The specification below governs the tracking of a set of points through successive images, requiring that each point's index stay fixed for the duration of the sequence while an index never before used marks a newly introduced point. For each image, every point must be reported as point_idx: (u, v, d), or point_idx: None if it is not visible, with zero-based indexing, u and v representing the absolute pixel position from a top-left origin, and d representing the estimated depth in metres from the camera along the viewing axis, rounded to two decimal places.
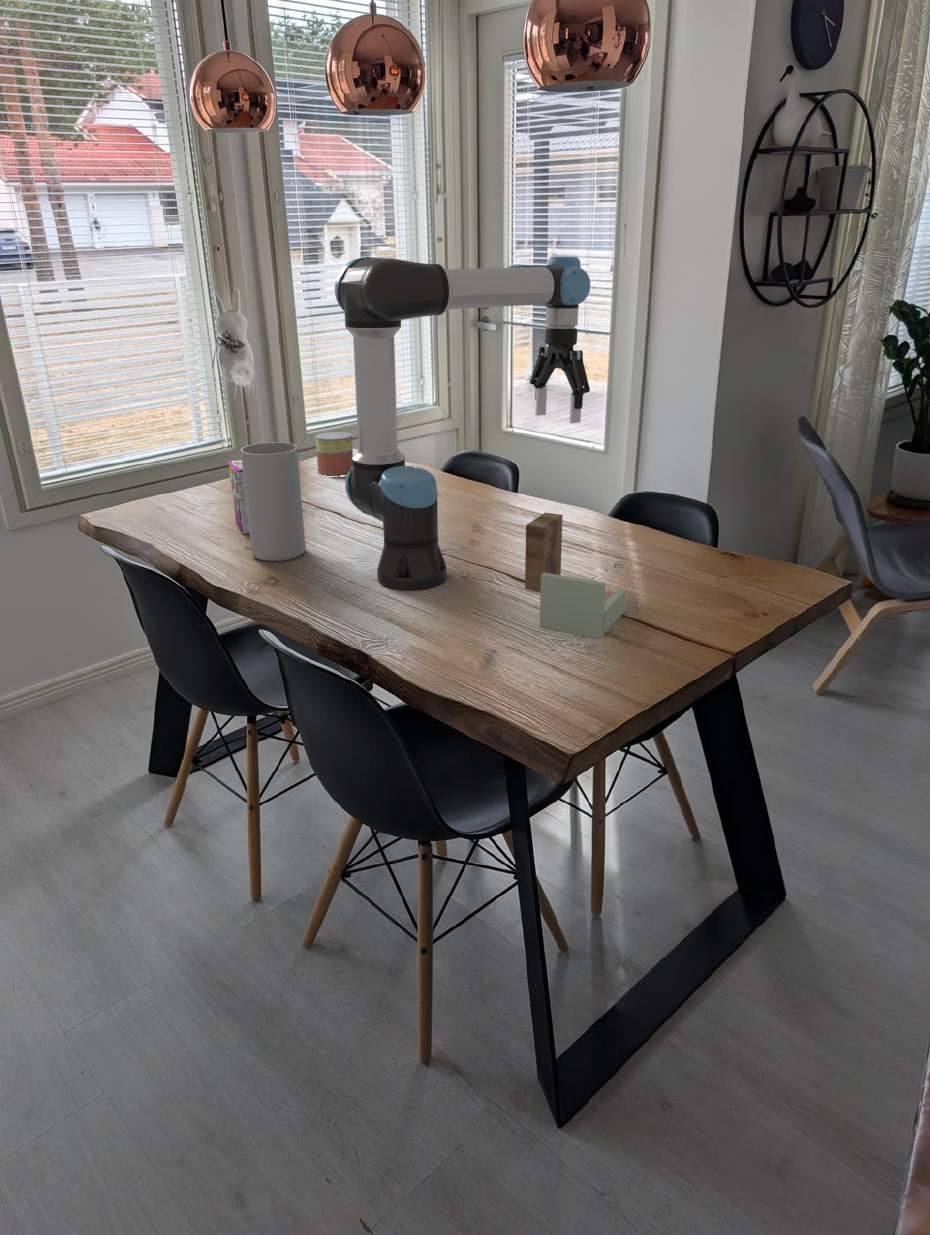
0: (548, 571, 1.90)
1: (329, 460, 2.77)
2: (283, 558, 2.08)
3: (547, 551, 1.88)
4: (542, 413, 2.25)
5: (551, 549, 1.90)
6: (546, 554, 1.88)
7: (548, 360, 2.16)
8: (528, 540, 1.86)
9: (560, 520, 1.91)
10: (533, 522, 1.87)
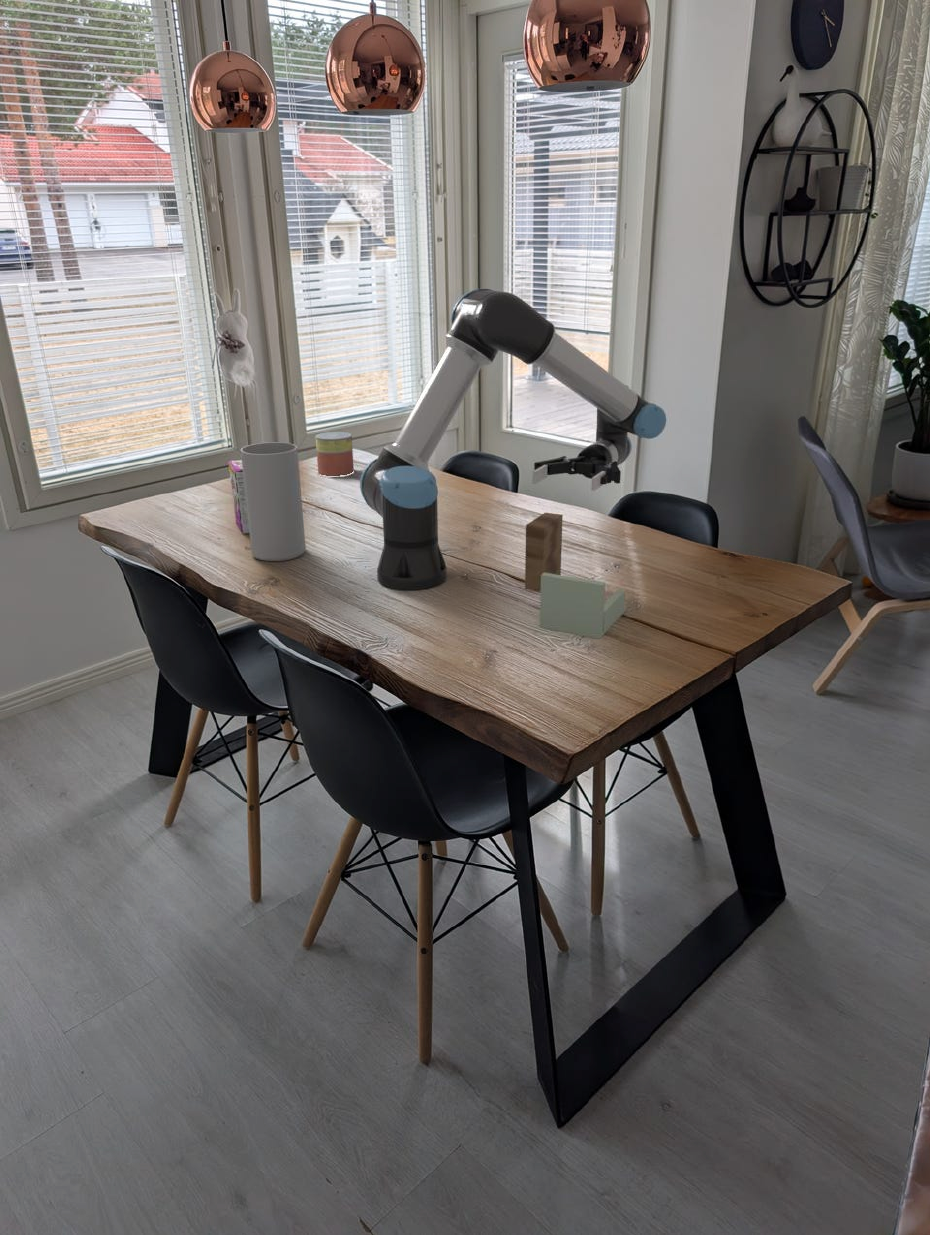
0: (548, 571, 1.90)
1: (329, 460, 2.77)
2: (283, 558, 2.08)
3: (547, 551, 1.88)
4: (536, 478, 1.98)
5: (551, 549, 1.90)
6: (546, 554, 1.88)
7: (576, 458, 2.06)
8: (528, 540, 1.86)
9: (560, 520, 1.91)
10: (533, 522, 1.87)
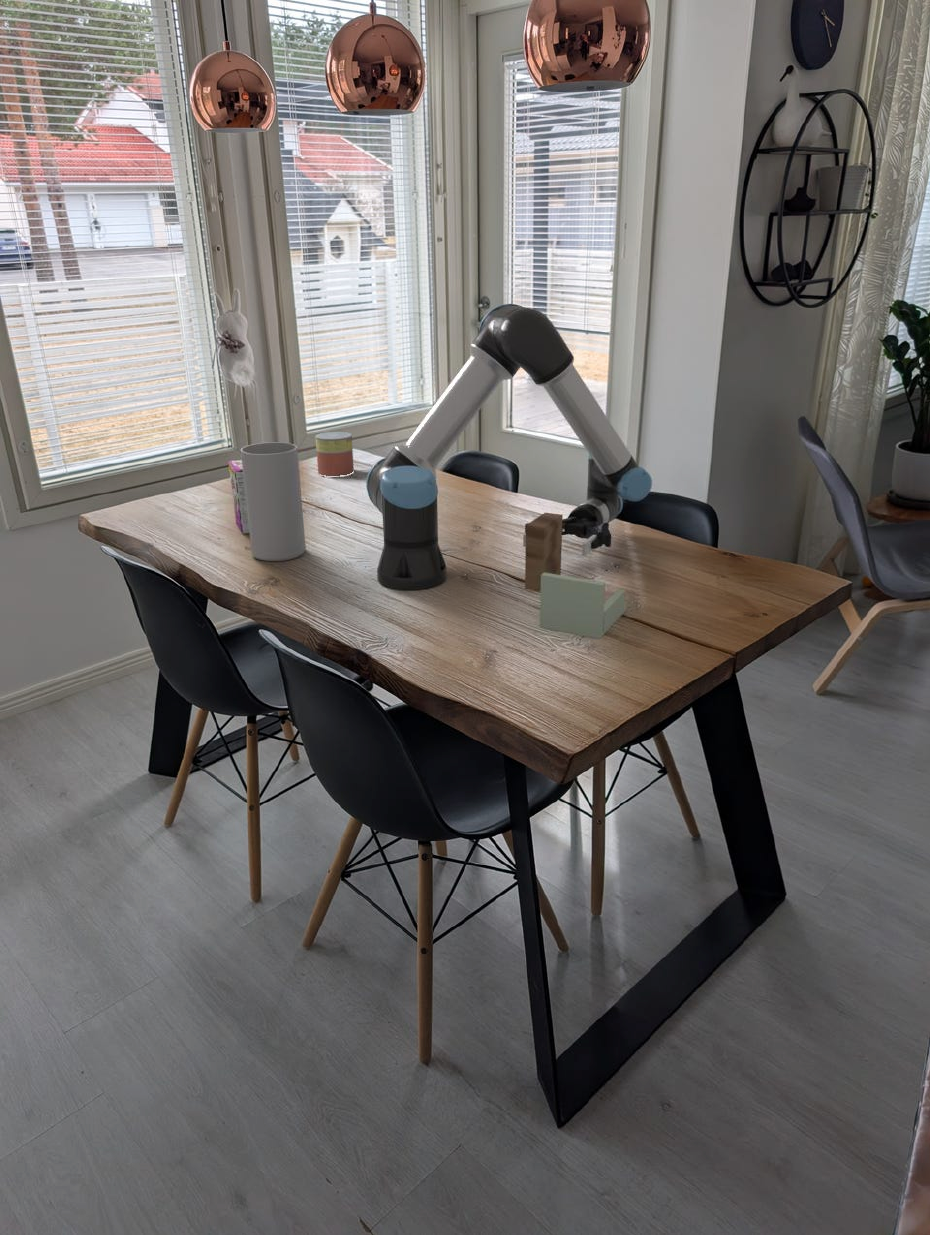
0: (548, 571, 1.90)
1: (329, 460, 2.77)
2: (283, 558, 2.08)
3: (547, 551, 1.88)
4: None
5: (551, 549, 1.90)
6: (546, 554, 1.88)
7: (567, 519, 2.06)
8: (528, 540, 1.86)
9: (560, 520, 1.91)
10: (533, 522, 1.87)
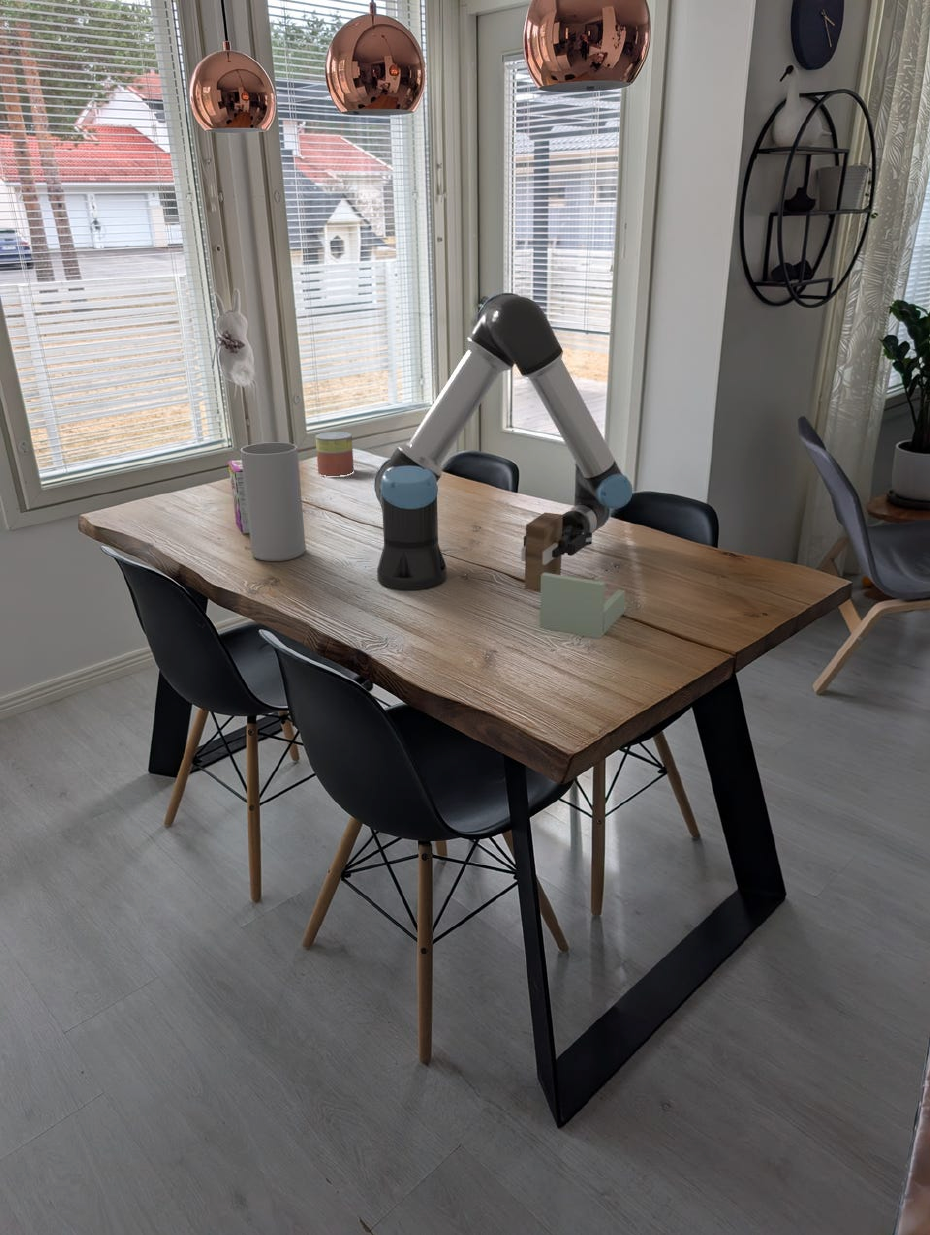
0: (548, 571, 1.90)
1: (329, 460, 2.77)
2: (283, 558, 2.08)
3: None
4: (525, 556, 1.88)
5: None
6: None
7: None
8: (528, 540, 1.86)
9: (560, 520, 1.91)
10: (533, 522, 1.87)
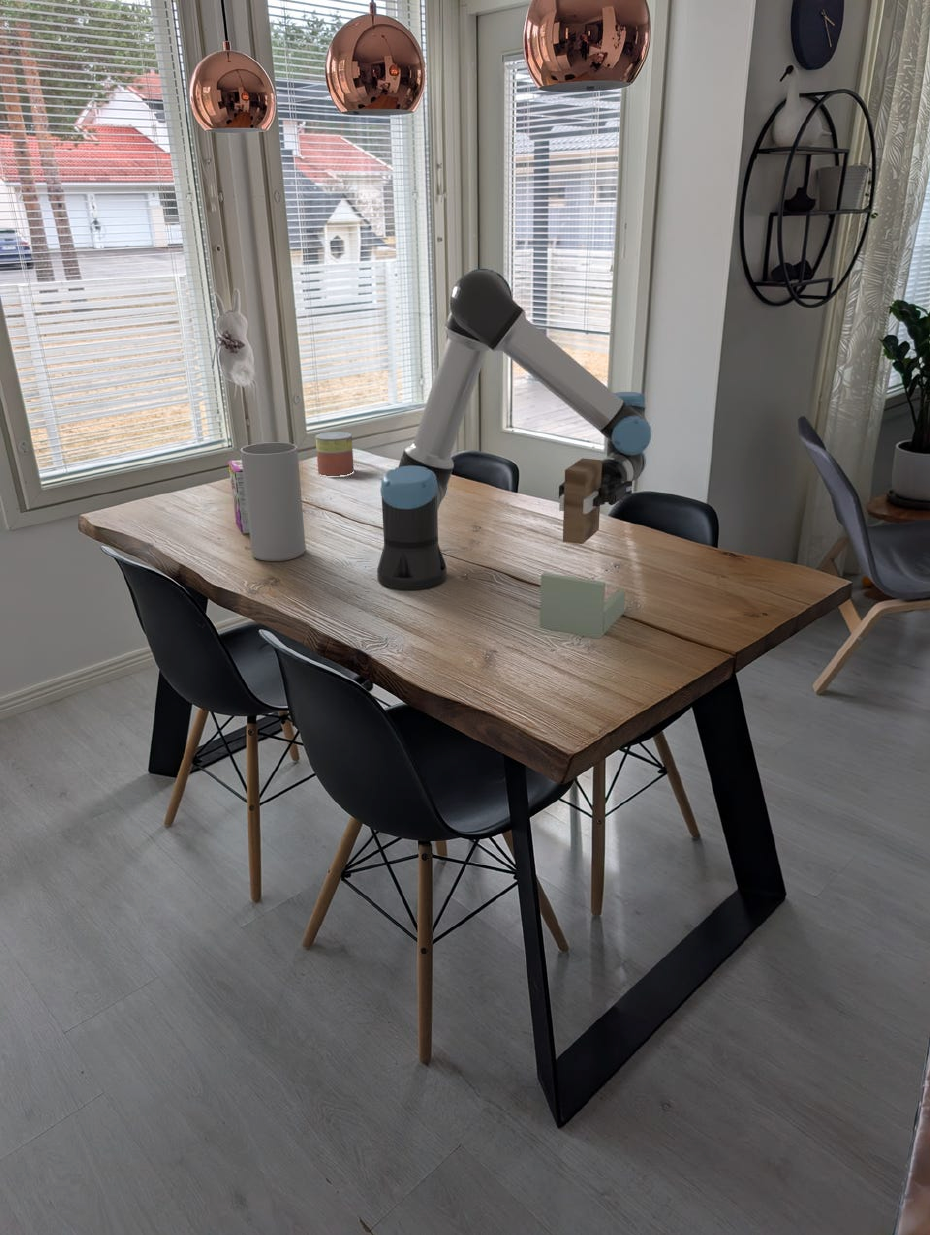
0: (588, 522, 1.73)
1: (329, 460, 2.77)
2: (283, 558, 2.08)
3: None
4: (563, 505, 1.71)
5: None
6: None
7: None
8: (566, 487, 1.69)
9: (600, 466, 1.74)
10: (572, 467, 1.70)
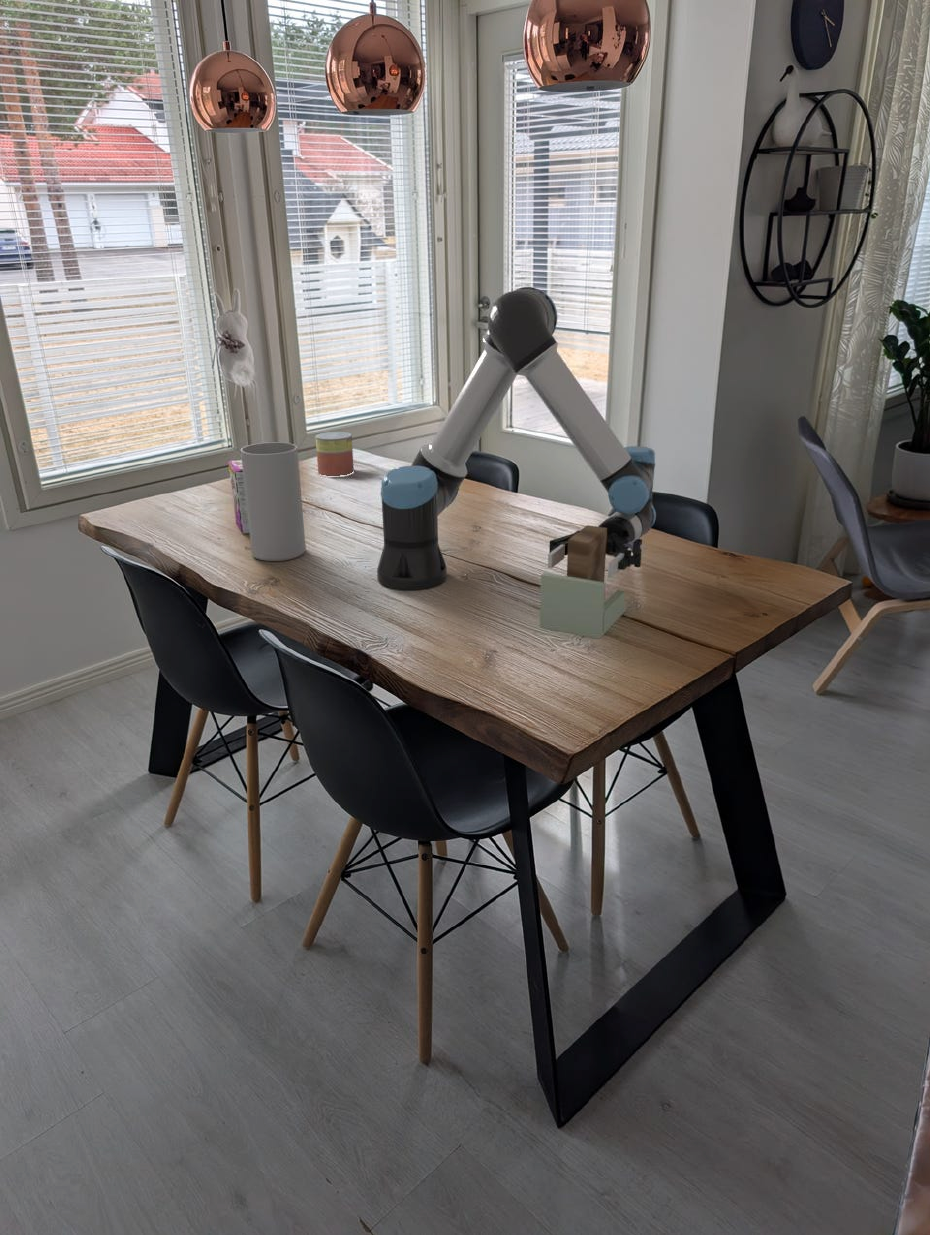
0: None
1: (329, 460, 2.77)
2: (283, 558, 2.08)
3: (591, 569, 1.69)
4: (552, 562, 1.71)
5: (595, 566, 1.70)
6: (590, 573, 1.69)
7: None
8: (570, 557, 1.67)
9: (604, 534, 1.72)
10: (576, 536, 1.68)
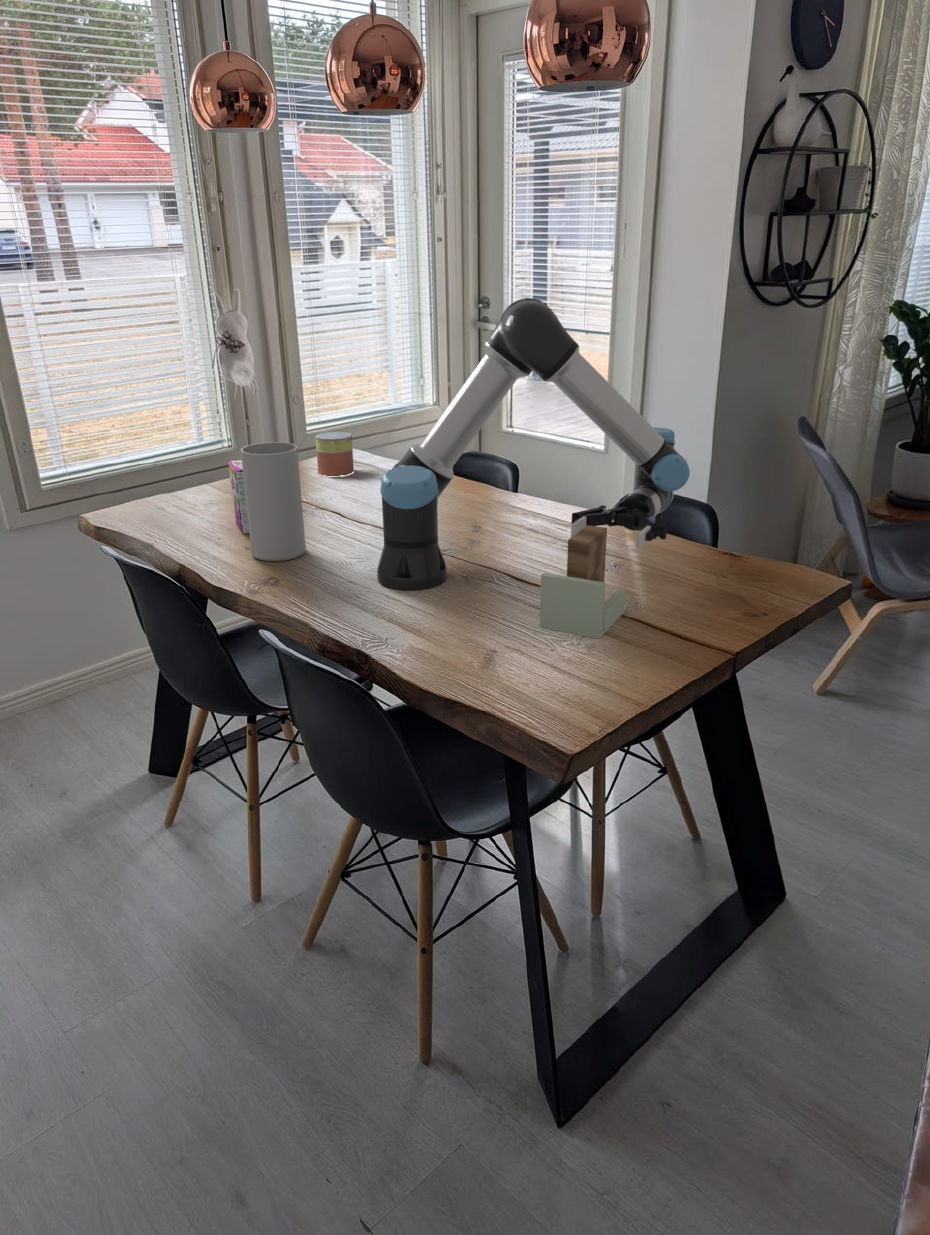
0: None
1: (329, 460, 2.77)
2: (283, 558, 2.08)
3: (591, 569, 1.69)
4: (575, 532, 1.82)
5: (595, 566, 1.70)
6: (590, 573, 1.69)
7: (617, 509, 1.90)
8: (570, 557, 1.67)
9: (604, 534, 1.72)
10: (576, 536, 1.68)
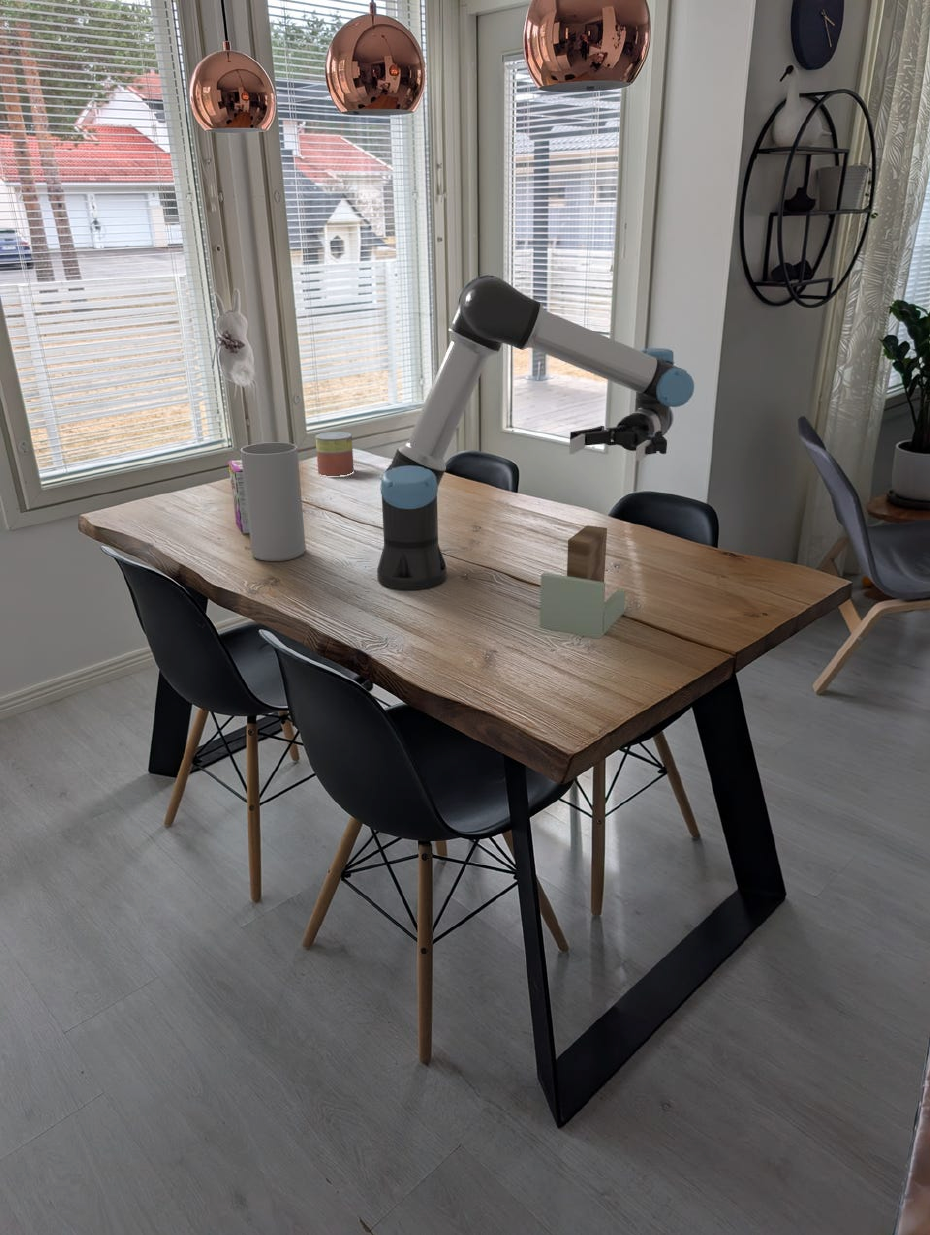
0: None
1: (329, 460, 2.77)
2: (283, 558, 2.08)
3: (591, 569, 1.69)
4: (573, 448, 1.79)
5: (595, 566, 1.70)
6: (590, 573, 1.69)
7: (616, 427, 1.87)
8: (570, 557, 1.67)
9: (604, 534, 1.72)
10: (576, 536, 1.68)
